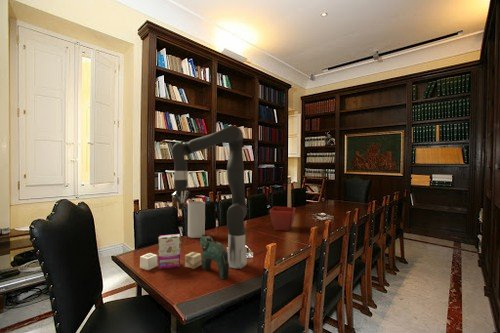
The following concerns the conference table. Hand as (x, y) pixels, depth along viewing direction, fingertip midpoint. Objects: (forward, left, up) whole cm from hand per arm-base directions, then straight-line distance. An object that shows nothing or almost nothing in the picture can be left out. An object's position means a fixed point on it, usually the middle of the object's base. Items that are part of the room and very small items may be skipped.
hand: (181, 209), depth 140 cm
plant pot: (-26, -91, -29) cm, 100 cm away
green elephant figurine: (-26, +4, -29) cm, 39 cm away
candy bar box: (-1, +10, -29) cm, 30 cm away
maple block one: (-11, +3, -29) cm, 31 cm away
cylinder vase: (+23, -39, -29) cm, 54 cm away
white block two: (+8, +16, -29) cm, 34 cm away
